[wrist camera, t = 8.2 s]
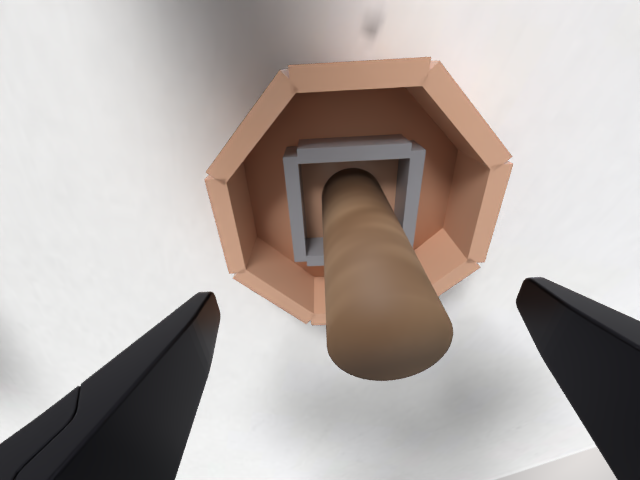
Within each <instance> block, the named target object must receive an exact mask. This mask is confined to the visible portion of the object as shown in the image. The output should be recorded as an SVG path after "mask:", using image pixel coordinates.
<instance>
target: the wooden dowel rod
mask: <svg viewBox="0 0 640 480" xmlns="http://www.w3.org/2000/svg"><path fill="white" fill-rule="evenodd" d="M322 223H323V251H324V278H325V306H326V334H327V349H328V353H329V356H330V357H331V359H332V361H333V362H334V363H335V364H336V365H337V366H338V367H339V368H340V369H342V370H343V371H345V372H346V373H348V374H350V375H353V376H355V377H359V378H362V379H367V380H376V381H387V380H396V379H402V378H406V377H409V376H412V375H415V374H418V373H420V372H422V371H424V370H426V369H428V368H429V367H431V366H432V365H434V364H435V363H436V362H437V361H439V360H440V359H441V358H442V357H443V356H444V354H445V353H446V352H447V350H448V348H449V346H450V344H451V341H452V337H453V327H452V323H451V321H450V319H449V317H448V315H447V313H446V311H445V309H444V307H443V305H442V303H441V301H440V299H439V298H438V296H437V294H436V292H435V290H434V288H433V286H432V284H431V282H430V280H429V278H428V276H427V275H426V273H425V271H424V269H423V267H422V265H421V263H420V261H419V259H418V257H417V255H416V253H415V252H414V250H413V248H412V246H411V244H410V242H409V240H408V238H407V236H406V234H405V232H404V230H403V228H402V227H401V225H400V223H399V221H398V219H397V217H396V215H395V213H394V211H393V209H392V207H391V205H390V204H389V202H388V200H387V198H386V196H385V194H384V192H383V190H382V188H381V186H380V184H379V182H378V181H377V179H376V178H375V177H374V176H373V175H372V174H371V173H369V172H368V171H366V170H363V169H360V168H347V169H343V170H340V171H338V172H336V173H335V174H333V175H332V176H331V177H330V178H329V179H328V180H327V182H326V183H325V185H324V187H323V191H322Z"/></svg>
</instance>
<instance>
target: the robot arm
mask: <svg viewBox="0 0 640 480" xmlns="http://www.w3.org/2000/svg"><path fill="white" fill-rule="evenodd" d="M516 305H517V308H518V310H519V312H520V314H521V316H522V318H523V321H524V323H525V325H526V327H527V329H528V331H529V333H530V335H531V337H532V339H533V341H534V343H535V345H536V347H537V349H538V351H539V353H540V355H541V357H542V358H543V360H544V362H545V363H546V365H547V367H548V368H549V370H550V371H551V373H552V375H553V376H554V378H555V380H556V381H557V383H558V384H559V386H560V388H561V389H562V391H563V392H564V394H565V396H566V397H567V399H568V400H569V402H570V404H571V405H572V407H573V409H574V410H575V412H576V413H577V415H578V417H579V418H580V420H581V421H582V423H583V425H584V426H585V428H586V430H587V431H588V433H589V434H590V436H591V438H592V439H593V441H594V442H595V444H596V446H597V447H598V449H599V451H600V452H601V454H602V455H603V457H604V458H605V460H606V462H607V463H608V465H609V467H610V468H611V470H612V471H613V473H614V475H615V476H616V478H617V479H618V480H640V321H638V320H636V319H634V318H632V317H629V316H627V315H625V314H623V313H620V312H618V311H616V310H614V309H612V308H609V307H607V306H605V305H603V304H601V303H598V302H596V301H594V300H592V299H589V298H587V297H585V296H583V295H581V294H578V293H576V292H574V291H572V290H569V289H567V288H565V287H563V286H561V285H558V284H556V283H554V282H552V281H550V280H547V279H545V278H542V277H531V278H526V279H525V280H524V281H523V283H522V286H521V288H520V291H519V293H518V296H517V299H516ZM219 323H220V310H219V307H218V304H217V301H216V297H215V295H214V293H213V292H199V293H197V294H195V295H194V296H193V297H192V298H190V299H189V300H188V301H186V302H185V303H184V304H183V305H181V306H180V307H179V308H178V309H176V310H175V311H174V312H172V313H171V314H170V315H169V316H167V317H166V318H165V319H163V320H162V321H161V322H160V323H158V324H157V325H156V326H154V327H153V328H152V329H151V330H149V331H148V332H147V333H145V334H144V335H143V336H142V337H140V338H139V339H138V340H136V341H135V342H134V343H133V344H131V345H130V346H129V347H128V348H126V349H125V350H124V351H122V352H121V353H120V354H119V355H117V356H116V357H115V358H113V359H112V360H111V361H110V362H108V363H107V364H106V365H104V366H103V367H102V368H101V369H99V370H98V371H97V372H95V373H94V374H93V375H92V376H90V377H89V378H88V379H86V380H85V381H84V382H83V383H82V384H81V386H77V387H76V388H75V389H74V390H72V391H71V392H70V393H68V394H67V395H66V396H65V397H63V398H62V399H61V400H59V401H58V402H57V403H55V404H54V405H53V406H51V407H50V408H49V409H47V410H46V411H45V412H43V413H42V414H41V415H40V416H38V417H37V418H36V419H34V420H33V421H31V422H30V423H29V424H27V425H26V426H25V427H23V428H22V429H20V430H19V431H18V432H16V433H15V434H13V435H12V436H11V437H9V438H8V439H6V440H5V441H4V442H2V443H1V444H0V480H175V478H176V474H177V471H178V468H179V465H180V462H181V459H182V456H183V453H184V449H185V446H186V443H187V440H188V437H189V434H190V431H191V428H192V424H193V421H194V418H195V415H196V412H197V409H198V406H199V403H200V399H201V396H202V393H203V390H204V387H205V384H206V381H207V378H208V374H209V371H210V367H211V363H212V358H213V353H214V348H215V343H216V338H217V333H218V328H219Z"/></svg>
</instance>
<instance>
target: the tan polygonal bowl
mask: <svg viewBox="0 0 640 480" xmlns="http://www.w3.org/2000/svg"><path fill="white" fill-rule="evenodd" d="M511 157H512V156H511V154H510V153H509V152H508V150H507V149H506V148H505V146H504V145H503V144H502V142H501V141H500V140H499V138H498V137H497V136H496V134H495V133H494V132H493V131H492V129H491V128H490V127H489V125H488V124H487V123H486V121H485V120H484V119H483V117H482V116H481V115H480V113H479V112H478V111H477V109H476V108H475V107H474V106H473V104H472V103H471V102H470V100H469V99H468V98H467V96H466V95H465V94H464V92H463V91H462V90H461V88H460V87H459V86H458V84H457V83H456V82H455V81H454V79H453V78H452V77H451V75H450V74H449V73H448V71H447V70H446V69H445V67H444V66H443V65H442V63H441V62H440V61H431V57H420V58H402V59H385V60H367V61H350V62H333V63H315V64H298V65H288V69H282V70H279V71H278V73H277V74H276V76H275V77H274V78H273V80H272V81H271V83H270V84H269V85H268V87H267V88H266V89H265V91H264V92H263V94H262V95H261V96H260V98H259V99H258V101H257V102H256V103H255V105H254V106H253V107H252V109H251V110H250V112H249V113H248V114H247V116H246V117H245V118H244V120H243V121H242V123H241V124H240V125H239V127H238V128H237V130H236V131H235V132H234V134H233V135H232V136H231V138H230V139H229V141H228V142H227V143H226V145H225V146H224V148H223V149H222V150H221V152H220V153H219V154H218V156H217V157H216V159H215V160H214V161H213V163H212V164H211V166H210V167H209V168H208V170H207V171H206V173H207V174H209V175H208V176H207V177H206V178H205V179H204V180H205V183H206V187H207V191H208V195H209V199H210V203H211V206H212V210H213V214H214V218H215V222H216V225H217V229H218V233H219V237H220V241H221V245H222V248H223V252H224V256H225V260H226V264H227V268H228V271H229V274H230V273H235V274H234V276H233V279H235V280H236V281H238V282H240V283H241V284H243V285H244V286H246V287H248V288H249V289H251V290H252V291H254V292H256V293H257V294H259V295H260V296H262V297H264V298H265V299H267V300H269V301H270V302H272V303H273V304H275V305H277V306H278V307H280V308H281V309H283V310H285V311H286V312H288V313H289V314H291V315H293V316H294V317H296V318H297V319H299V320H301V321H302V322H304V323H305V324H307V323H308V322H309V321H310V320H311V324H312V325H326V306H325V278H324V251H323V223H322V191H323V187H324V185H325V183H326V182H327V180H328V179H329V178H330V177H331V176H332V175H333V174H335V173H336V172H338V171H340V170H343V169H347V168H360V169H363V170H366V171H368V172H369V173H371V174H372V175H373V176H374V177H375V178H376V179H377V181H378V182H379V184H380V186H381V188H382V190H383V192H384V194H385V196H386V198H387V200H388V202H389V204H390V205H391V207H392V209H393V211H394V213H395V215H396V217H397V219H398V221H399V223H400V225H401V227H402V228H403V230H404V232H405V234H406V236H407V238H408V240H409V242H410V244H411V246H412V248H413V250H414V252H415V253H416V255H417V257H418V259H419V261H420V263H421V265H422V267H423V269H424V271H425V273H426V275H427V276H428V278H429V280H430V282H431V284H432V286H433V288H434V290H435V292H436V294H437V296H439V295H441V294H442V293H444V292H445V291H447V290H448V289H450V288H451V287H453V286H454V285H455V284H457V283H458V282H460V281H461V280H463V279H464V278H466V277H467V276H469V275H470V274H471V273H473V272H474V271H476V270H477V269H479V268H480V266H479V265H478V264H477V263H478V262H485V259H486V255H487V252H488V249H489V245H490V242H491V238H492V235H493V232H494V228H495V225H496V221H497V218H498V214H499V211H500V208H501V204H502V201H503V197H504V194H505V191H506V187H507V184H508V180H509V177H510V173H511V170H512V167H513V163H511V162H509V161H507V160H509V159H510V158H511Z"/></svg>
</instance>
